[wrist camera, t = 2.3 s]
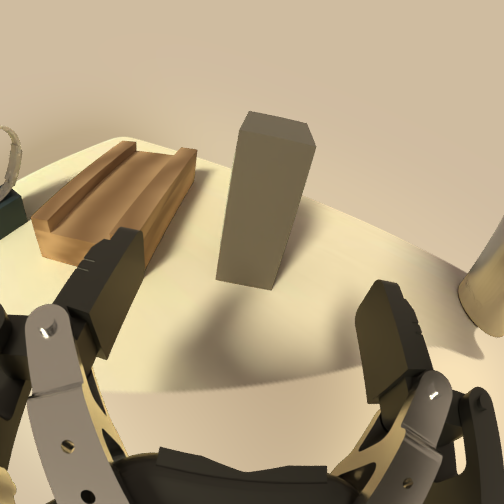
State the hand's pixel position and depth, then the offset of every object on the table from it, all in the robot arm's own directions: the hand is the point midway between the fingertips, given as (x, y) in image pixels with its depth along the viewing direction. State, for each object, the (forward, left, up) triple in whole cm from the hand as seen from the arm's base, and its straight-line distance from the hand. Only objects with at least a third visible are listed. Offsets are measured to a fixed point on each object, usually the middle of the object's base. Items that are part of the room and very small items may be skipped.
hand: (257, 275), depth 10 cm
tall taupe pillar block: (0, -12, -10) cm, 16 cm away
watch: (+27, -10, -10) cm, 31 cm away
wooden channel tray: (+13, -16, -10) cm, 23 cm away
